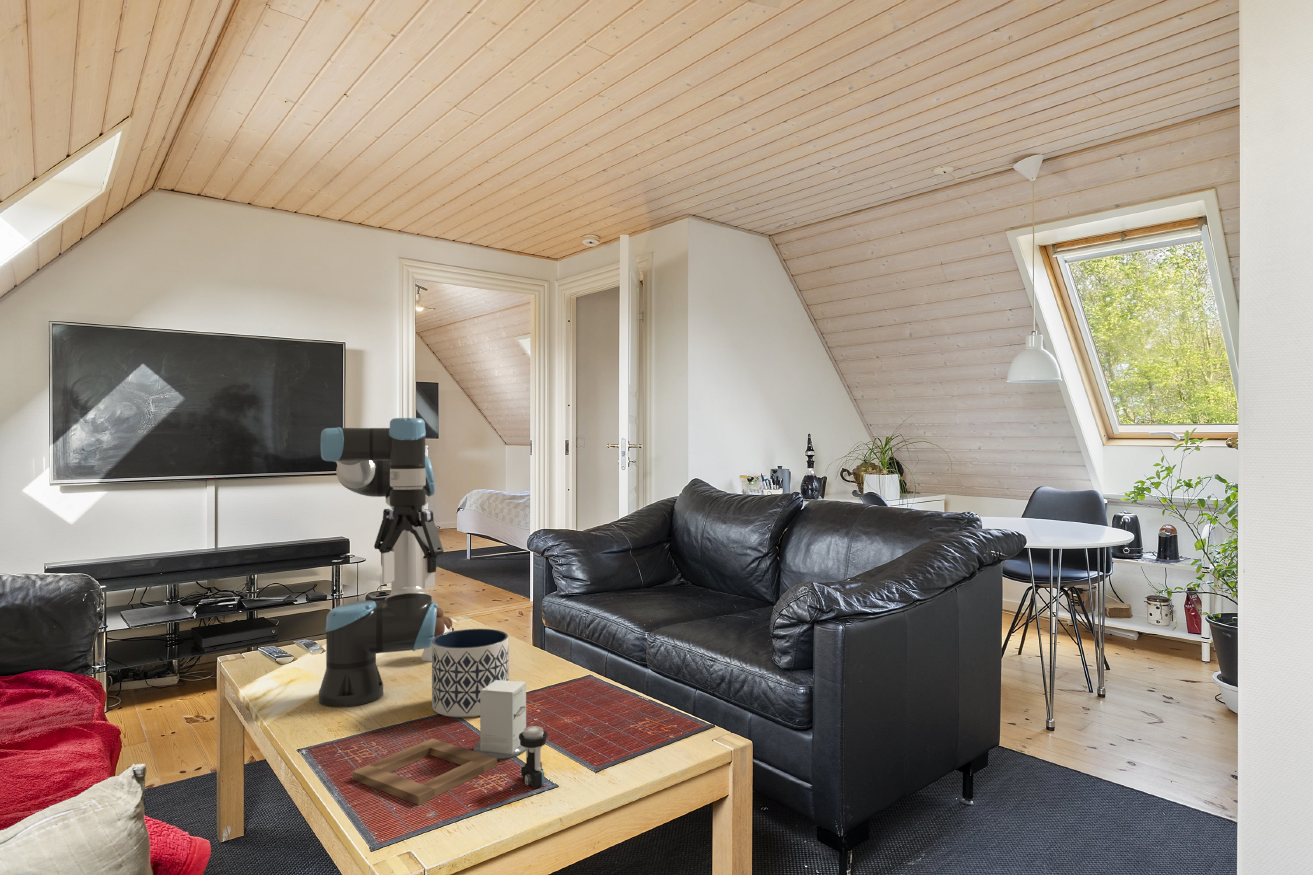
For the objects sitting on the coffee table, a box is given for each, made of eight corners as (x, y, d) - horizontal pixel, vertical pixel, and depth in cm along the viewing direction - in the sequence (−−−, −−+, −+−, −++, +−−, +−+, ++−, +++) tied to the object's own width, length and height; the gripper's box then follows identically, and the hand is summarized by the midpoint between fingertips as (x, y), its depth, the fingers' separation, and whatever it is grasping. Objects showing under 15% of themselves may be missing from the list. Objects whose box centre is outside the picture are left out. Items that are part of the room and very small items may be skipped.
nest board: (352, 779, 143) (352, 771, 143) (432, 745, 159) (432, 738, 159) (418, 804, 133) (418, 796, 133) (497, 765, 149) (497, 758, 149)
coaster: (462, 751, 155) (462, 748, 155) (500, 734, 165) (500, 731, 165) (500, 764, 149) (500, 761, 149) (538, 745, 159) (538, 742, 159)
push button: (509, 780, 142) (509, 727, 142) (533, 771, 146) (533, 720, 146) (529, 792, 137) (528, 737, 137) (553, 783, 141) (553, 729, 141)
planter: (470, 724, 171) (469, 651, 171) (415, 709, 180) (415, 641, 181) (524, 700, 186) (524, 634, 186) (471, 688, 196) (471, 625, 196)
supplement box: (512, 755, 152) (512, 692, 152) (479, 751, 154) (478, 689, 154) (527, 740, 159) (527, 681, 160) (495, 737, 161) (495, 678, 161)
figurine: (429, 653, 229) (429, 603, 230) (458, 653, 228) (458, 604, 228) (414, 662, 220) (414, 610, 220) (445, 663, 218) (445, 611, 219)
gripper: (357, 487, 170) (358, 581, 169) (432, 490, 156) (432, 593, 156) (385, 485, 176) (386, 576, 176) (460, 488, 162) (460, 587, 162)
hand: (408, 584), depth 166 cm, fingers open, 13 cm apart
